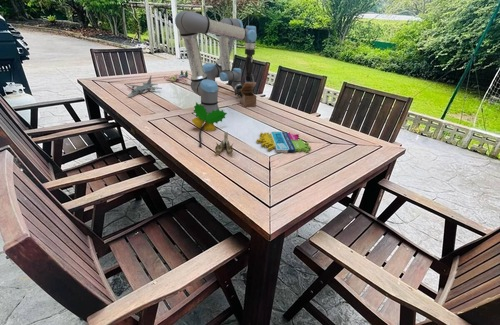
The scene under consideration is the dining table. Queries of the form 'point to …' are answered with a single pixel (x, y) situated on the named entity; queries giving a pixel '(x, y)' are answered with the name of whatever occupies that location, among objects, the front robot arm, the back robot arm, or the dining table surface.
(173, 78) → the toy
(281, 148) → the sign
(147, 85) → the airplane
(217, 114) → the ornament
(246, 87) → the brown piece
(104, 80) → the dining table surface
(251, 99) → the chest
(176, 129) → the dining table surface
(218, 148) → the jawbone
